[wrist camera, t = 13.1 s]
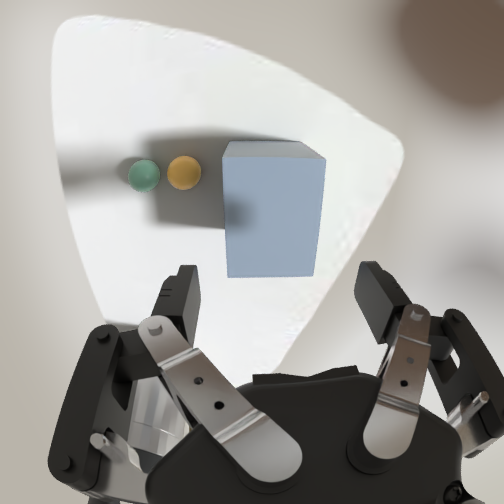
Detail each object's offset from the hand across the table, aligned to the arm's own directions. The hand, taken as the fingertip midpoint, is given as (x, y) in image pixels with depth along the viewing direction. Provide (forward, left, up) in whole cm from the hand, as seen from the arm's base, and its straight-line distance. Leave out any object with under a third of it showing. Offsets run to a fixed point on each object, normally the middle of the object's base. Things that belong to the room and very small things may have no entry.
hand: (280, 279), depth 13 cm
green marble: (+2, +11, -13) cm, 17 cm away
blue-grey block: (0, 0, -14) cm, 14 cm away
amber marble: (+2, +7, -13) cm, 14 cm away
